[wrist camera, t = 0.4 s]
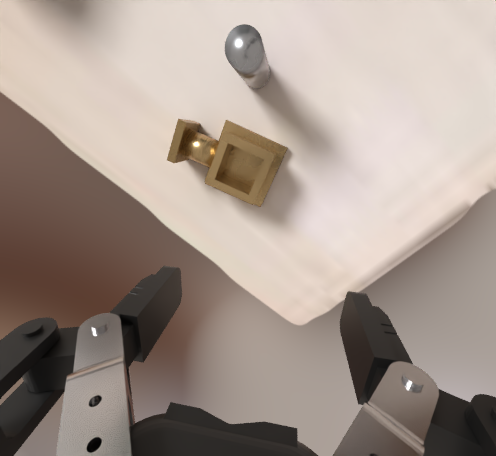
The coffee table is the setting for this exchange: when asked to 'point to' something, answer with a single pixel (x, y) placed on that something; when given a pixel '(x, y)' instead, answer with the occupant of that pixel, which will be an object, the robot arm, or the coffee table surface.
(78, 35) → the coffee table surface
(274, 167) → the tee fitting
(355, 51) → the coffee table surface
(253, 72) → the silver round-ended rod
